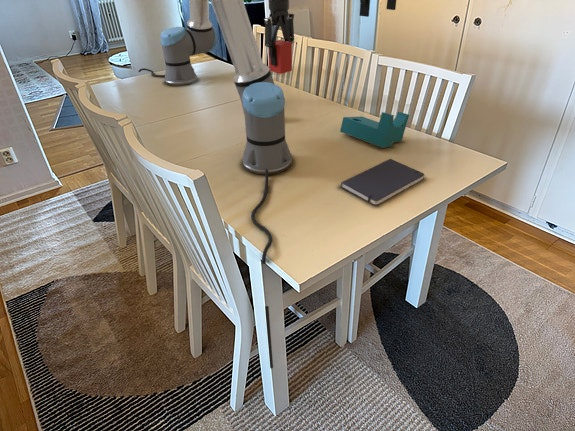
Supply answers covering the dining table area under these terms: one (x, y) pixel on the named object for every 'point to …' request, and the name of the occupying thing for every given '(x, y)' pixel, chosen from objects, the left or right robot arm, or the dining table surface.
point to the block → (282, 57)
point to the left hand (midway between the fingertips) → (280, 62)
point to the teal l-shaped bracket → (376, 128)
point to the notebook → (382, 181)
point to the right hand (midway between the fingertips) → (377, 12)
